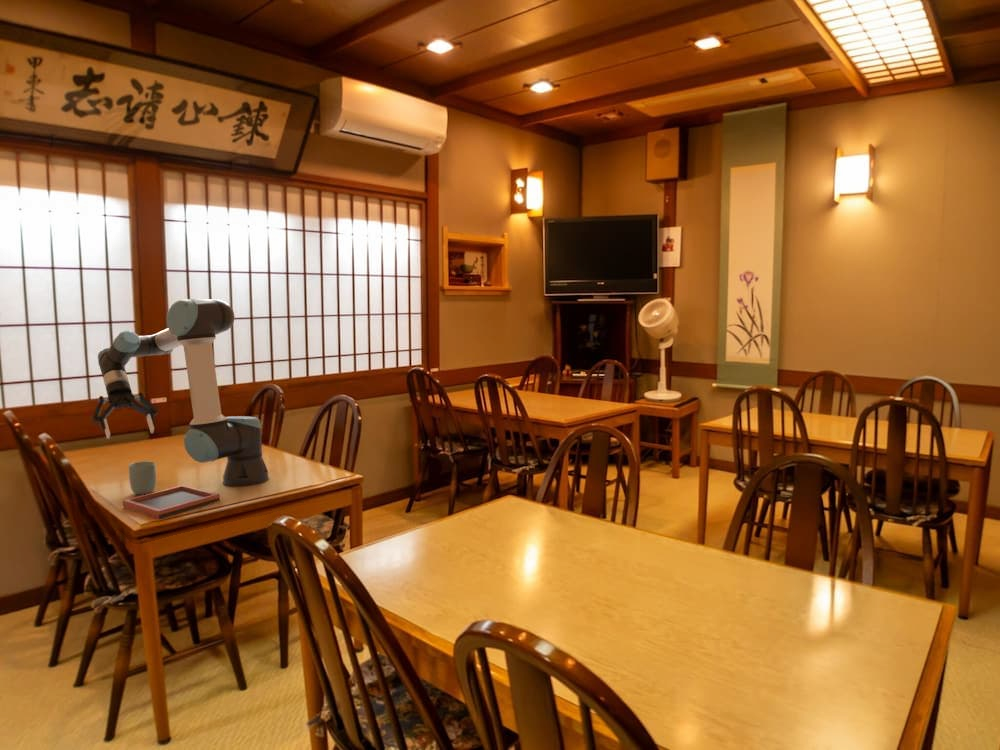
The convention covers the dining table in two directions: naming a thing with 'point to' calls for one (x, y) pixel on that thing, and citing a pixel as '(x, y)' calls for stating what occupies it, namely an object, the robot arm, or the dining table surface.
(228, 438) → the robot arm
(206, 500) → the tray
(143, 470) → the cup
